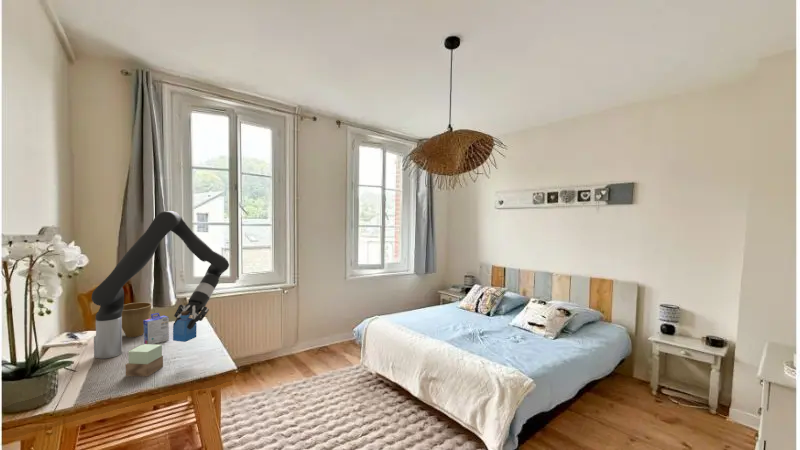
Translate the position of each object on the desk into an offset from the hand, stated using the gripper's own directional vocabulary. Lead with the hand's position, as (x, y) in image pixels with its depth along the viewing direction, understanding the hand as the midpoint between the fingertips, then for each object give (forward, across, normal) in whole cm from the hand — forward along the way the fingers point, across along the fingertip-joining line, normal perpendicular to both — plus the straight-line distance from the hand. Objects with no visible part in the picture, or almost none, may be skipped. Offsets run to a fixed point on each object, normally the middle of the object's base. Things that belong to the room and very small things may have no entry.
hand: (182, 327), depth 151 cm
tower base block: (+18, -10, +6) cm, 21 cm away
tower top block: (+14, -10, +2) cm, 17 cm away
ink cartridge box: (-3, -33, +27) cm, 43 cm away
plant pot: (-7, -53, +31) cm, 62 cm away
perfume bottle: (+3, 0, +5) cm, 6 cm away
